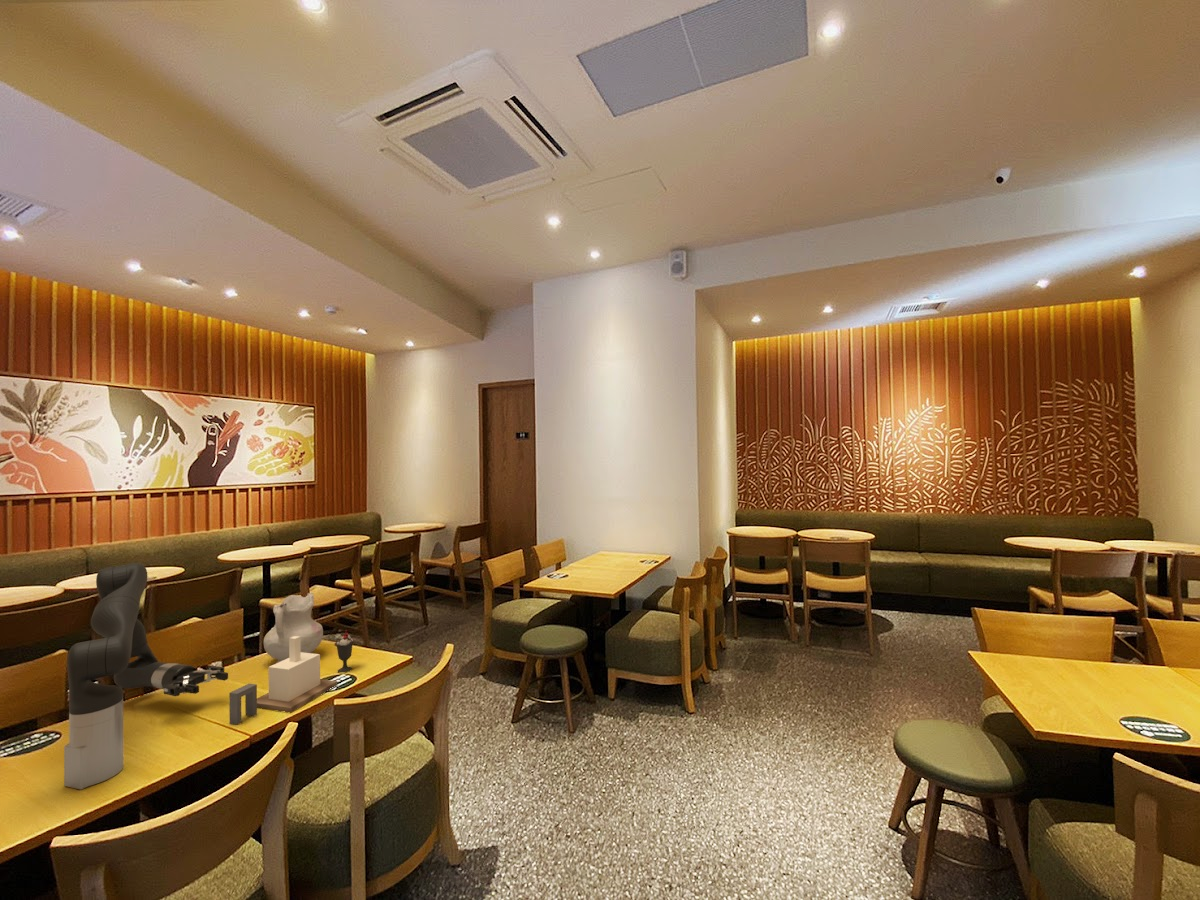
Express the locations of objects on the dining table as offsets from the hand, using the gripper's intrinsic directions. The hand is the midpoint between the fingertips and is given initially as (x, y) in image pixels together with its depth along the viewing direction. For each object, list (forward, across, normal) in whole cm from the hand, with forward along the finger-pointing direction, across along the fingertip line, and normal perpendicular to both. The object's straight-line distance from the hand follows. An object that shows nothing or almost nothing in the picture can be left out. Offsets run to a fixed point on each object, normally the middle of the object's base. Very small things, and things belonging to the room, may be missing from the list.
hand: (212, 683), depth 147 cm
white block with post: (+16, +15, +8) cm, 23 cm away
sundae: (+17, +35, +10) cm, 40 cm away
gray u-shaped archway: (+13, 0, +9) cm, 16 cm away
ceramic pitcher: (-9, +37, +10) cm, 39 cm away
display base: (+16, +15, +9) cm, 23 cm away
